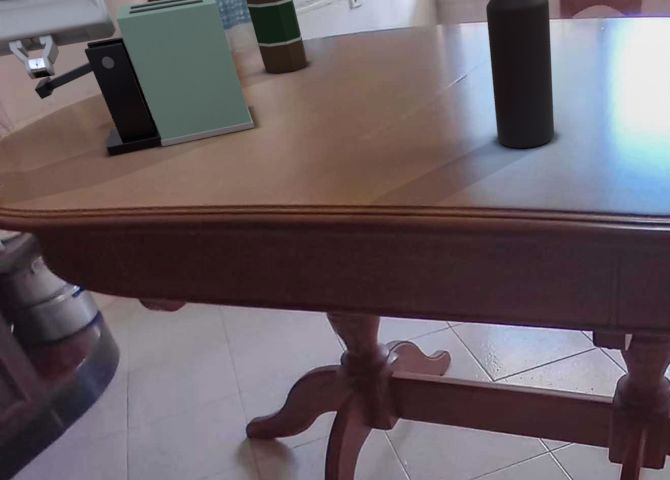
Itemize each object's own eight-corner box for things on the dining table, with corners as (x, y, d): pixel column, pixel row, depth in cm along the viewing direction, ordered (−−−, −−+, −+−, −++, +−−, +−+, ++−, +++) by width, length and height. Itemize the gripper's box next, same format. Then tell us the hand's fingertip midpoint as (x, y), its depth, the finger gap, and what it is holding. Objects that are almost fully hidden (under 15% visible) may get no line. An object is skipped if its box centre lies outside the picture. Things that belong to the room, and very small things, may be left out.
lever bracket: (110, 156, 94) (67, 56, 86) (113, 136, 101) (74, 42, 93) (171, 143, 96) (135, 44, 88) (171, 124, 103) (137, 31, 95)
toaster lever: (44, 103, 90) (31, 85, 88) (49, 93, 94) (36, 76, 92) (124, 66, 91) (112, 48, 89) (126, 58, 95) (114, 40, 93)
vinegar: (546, 149, 81) (537, -47, 69) (491, 148, 83) (472, -43, 71) (559, 129, 86) (553, -58, 74) (506, 128, 88) (492, -54, 76)
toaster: (162, 146, 95) (113, 18, 85) (162, 125, 103) (118, 5, 93) (254, 127, 98) (217, 1, 88) (247, 108, 106) (212, -10, 96)
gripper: (-88, -23, 86) (-63, 76, 85) (88, -49, 91) (115, 45, 89) (-58, 10, 92) (-35, 104, 91) (105, -15, 97) (131, 73, 95)
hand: (41, 75), depth 90 cm, fingers closed
